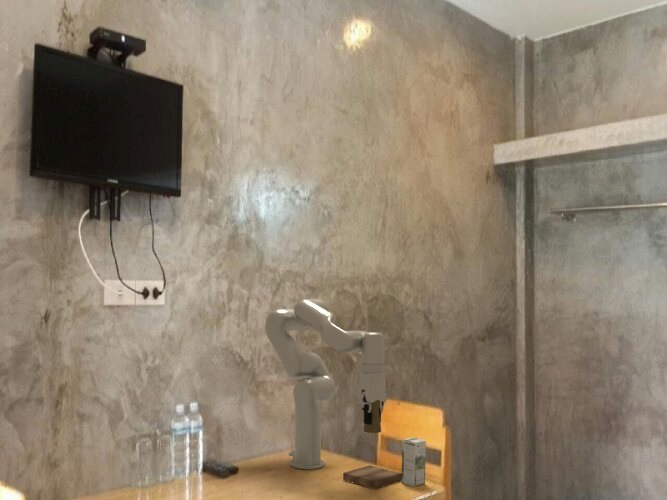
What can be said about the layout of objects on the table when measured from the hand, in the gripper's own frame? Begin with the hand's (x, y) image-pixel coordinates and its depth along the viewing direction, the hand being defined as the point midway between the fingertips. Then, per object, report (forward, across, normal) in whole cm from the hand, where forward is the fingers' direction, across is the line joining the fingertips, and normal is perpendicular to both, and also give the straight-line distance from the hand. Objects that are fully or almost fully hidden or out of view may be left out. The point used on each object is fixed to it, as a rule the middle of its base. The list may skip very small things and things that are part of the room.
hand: (372, 422), depth 214 cm
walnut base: (+19, 0, 0) cm, 19 cm away
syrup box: (+19, -7, +12) cm, 24 cm away
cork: (+3, 0, 0) cm, 3 cm away
